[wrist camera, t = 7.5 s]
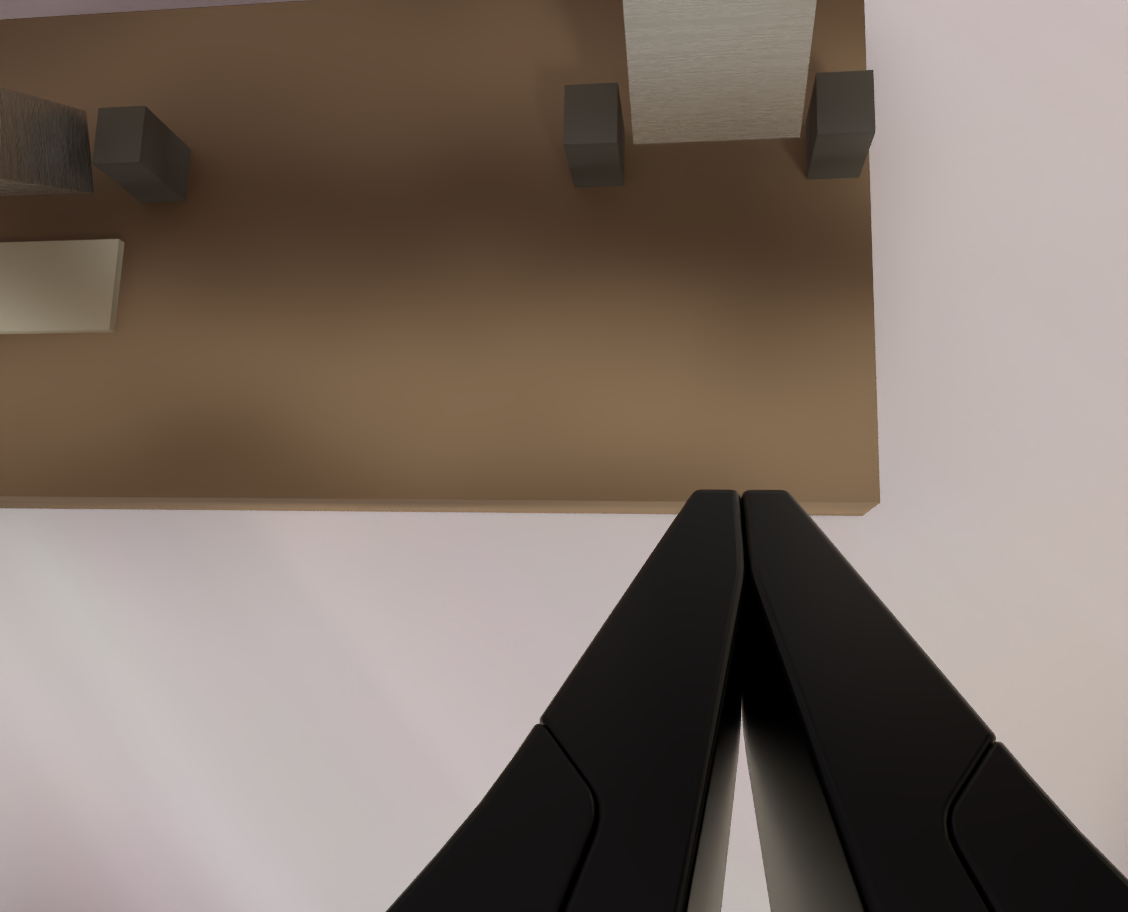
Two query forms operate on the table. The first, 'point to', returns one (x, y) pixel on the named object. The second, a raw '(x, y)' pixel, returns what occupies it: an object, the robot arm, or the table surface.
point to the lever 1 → (42, 147)
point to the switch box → (429, 270)
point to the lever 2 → (717, 68)
